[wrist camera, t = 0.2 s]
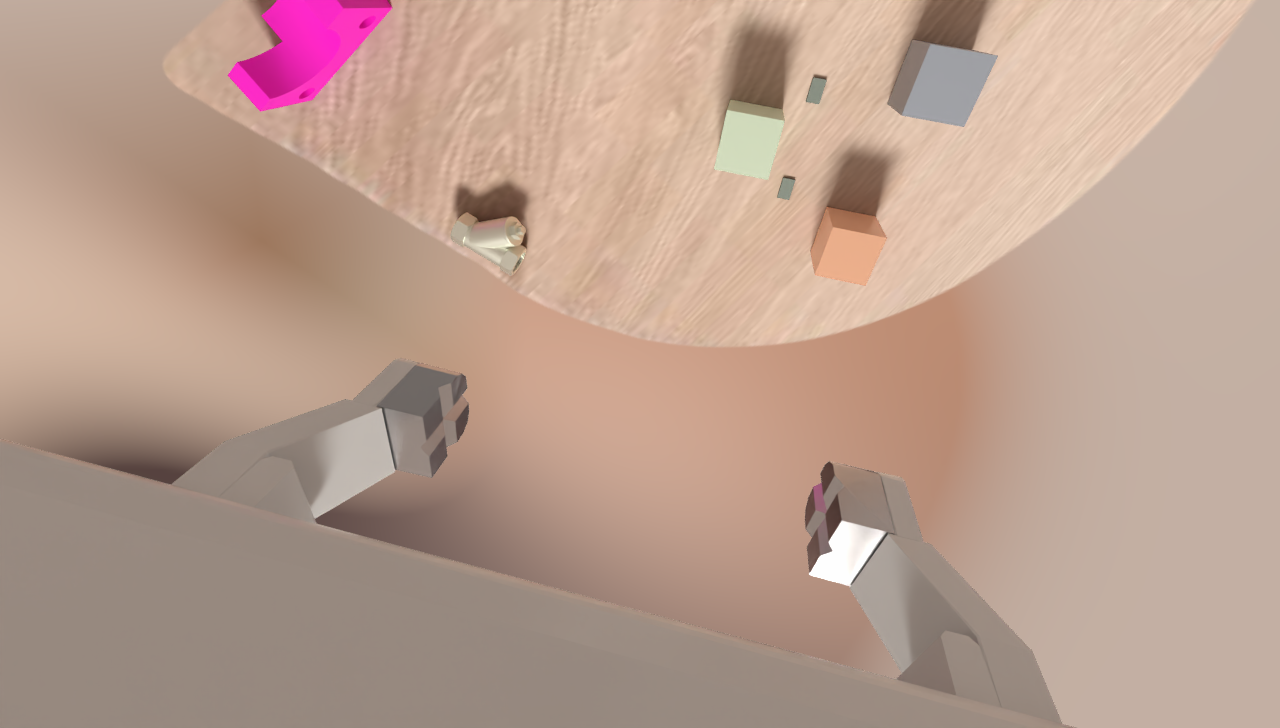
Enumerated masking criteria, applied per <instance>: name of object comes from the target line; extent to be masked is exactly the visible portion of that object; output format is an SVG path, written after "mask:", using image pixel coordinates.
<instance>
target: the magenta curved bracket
mask: <svg viewBox="0 0 1280 728" xmlns="http://www.w3.org/2000/svg"><path fill="white" fill-rule="evenodd" d="M391 9H392V6H391V5H390V4H389V2H388V1H387V0H277V1H276V2H275V4H274V5H273V6H272V7H271V8H270V9H269V10H268V11H266V12H265V13H264V14H263V15H262V17H263V19H264V20H265V21H266V22H267V23H268V25H269V26H270V27H271V28H272V29H273V31H274V32H275V33H276V34H277V35H278V36H279V38H280V39H281V40H282V42H281V43H279V44H278V45H276V46H275V47H273V48H272V49H270V50H268V51H266V52H264V53H262V54H260V55H258V56H256V57H253V58H250V59H247V60H244V61H240V62H237V63H236V64H235V66H234V67H233V69H232V70H231V71H230V73H229V74H228V76H229V77H230V79H231V80H232V81H233V82H234V83H235V84H236V85H237V86H238V87H239V89H240V90H241V91H242V92H243V93H244V94H245V95H246V96H247V97H248V98H249V100H250V101H251V102H252V103H253V104H254V105H255V106H256V107H257V108H258V110H259V111H265V110H269V109H274V108H279V107H283V106H288V105H292V104H297V103H301V102H306V101H310V100H313V98H314V97H315V96H316V95H317V94H318V93H319V92H320V90H321V89H322V88H323V87H324V86H325V85H326V83H327V82H328V81H329V80H330V79H331V78H332V77H333V75H334V74H335V73H336V72H337V71H338V70H339V69H340V67H341V66H342V65H343V64H344V63H345V62H346V61H347V59H348V58H349V57H350V56H351V55H352V54H353V52H354V51H355V50H356V49H357V48H358V47H359V46H360V44H361V43H362V42H363V41H364V40H365V39H366V38H367V36H368V35H369V34H370V33H371V32H372V31H373V29H374V28H375V27H376V26H377V25H378V24H379V23H380V21H381V20H382V19H383V18H384V17H385V16H386V15H387V13H388V12H389V11H390V10H391Z"/></svg>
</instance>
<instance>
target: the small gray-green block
mask: <svg viewBox="0 0 1280 728" xmlns="http://www.w3.org/2000/svg"><path fill="white" fill-rule="evenodd" d="M826 81H827V80H825V79H820V78H814V77H813V80H812V83H811V86H810V90H809V93H808V96H807V100H806V102H810V103H815V104H819V103H820V100H821V96H822V93H823V90H824V87H825V84H826Z"/></svg>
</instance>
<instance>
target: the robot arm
mask: <svg viewBox="0 0 1280 728" xmlns="http://www.w3.org/2000/svg"><path fill="white" fill-rule="evenodd" d="M466 389H467V383H466V376H464V375H463V374H462V373H458V372H454V371H450V370H446V369H443V368H439V367H435V366H431V365H428V364H424V363H418V362H414V361H410V360H407V359H403V358H399V359H396V360H394V361H393V362H392V363H391V364H390V365H389V366H387V368H385V369H384V370H383V371H382V373H380V374H379V375H378V376H377V377H376V378H375V379H374V380H373V381H372V382H371V383H370V384H369V385H368V386H367V387H366V388H365V389H363V390H362V391H361V392H360V393H359V395H357V396H356V397H355V398H354V399H353V400H352V401H351V400H346V399H345V400H342V401H339V402H336V403H333V404H331V405H327V406H325V407H322V408H319V409H316V410H313V411H310V412H307V413H304V414H302V415H299V416H296V417H293V418H290V419H287V420H284V421H281V422H279V423H276V424H273V425H270V426H267V427H264V428H261V429H259V430H256V431H253V432H250V433H247V434H244V435H241V436H238V437H236V438H233V439H230V440H227V441H224V442H223V443H222V444H221V445H219V446H218V447H217V448H216V449H214V450H213V451H212V452H211V453H210V454H208V455H207V456H206V457H205V458H203V459H202V460H201V461H200V462H198V463H197V464H196V465H195V466H193V467H192V468H191V469H190V470H188V471H187V472H186V473H185V474H184V475H182V476H181V477H180V478H179V479H178V480H176V481H175V482H174V483H173V484H171V485H170V484H166V483H163V482H159V481H155V480H151V479H147V478H144V477H140V476H136V475H133V474H129V473H125V472H121V471H118V470H113V469H110V468H106V467H103V466H99V465H95V464H91V463H88V462H84V461H80V460H77V459H73V458H69V457H65V456H61V455H58V454H54V453H50V452H47V451H43V450H39V449H35V448H32V447H28V446H25V445H21V444H18V443H15V442H11V441H7V440H4V439H1V438H0V728H1075V727H1072V726H1068V725H1064V724H1062V722H1061V720H1060V717H1059V714H1058V712H1057V710H1056V707H1055V705H1054V702H1053V700H1052V698H1051V695H1050V693H1049V690H1048V688H1047V685H1046V683H1045V681H1044V678H1043V676H1042V673H1041V671H1040V668H1039V666H1038V664H1037V661H1036V659H1035V656H1034V654H1033V652H1032V650H1031V649H1030V648H1029V647H1028V646H1027V645H1026V644H1025V643H1024V642H1023V641H1022V640H1021V639H1020V638H1019V637H1018V636H1017V635H1016V634H1015V632H1014V631H1013V630H1012V629H1011V628H1010V627H1009V626H1008V625H1007V624H1006V623H1005V622H1004V621H1003V620H1002V619H1001V618H1000V617H999V616H998V615H997V613H996V612H995V611H994V610H993V609H992V608H991V607H990V606H989V605H988V604H987V603H986V602H985V601H984V600H983V599H982V598H981V596H979V594H978V593H977V592H976V591H975V590H974V589H973V588H972V587H971V586H970V585H969V584H968V583H967V582H966V581H965V580H964V578H963V577H962V576H961V575H960V574H959V573H958V572H957V571H956V570H955V569H954V568H953V567H952V566H951V565H950V564H949V563H948V562H947V561H946V559H945V558H944V557H943V556H942V555H941V554H940V553H939V552H938V551H937V550H936V549H935V548H934V547H933V546H932V545H931V544H929V543H925V542H923V539H922V535H921V532H920V529H919V526H918V523H917V519H916V516H915V513H914V509H913V506H912V503H911V500H910V496H909V493H908V490H907V487H906V484H905V481H904V480H903V479H902V478H901V477H898V476H893V475H889V474H884V473H880V472H874V471H869V470H865V469H861V468H856V467H852V466H848V465H844V464H839V463H835V462H831V461H829V462H828V463H826V464H825V466H824V467H823V470H822V471H821V483H820V484H818V485H816V486H814V487H813V489H812V491H811V493H810V495H809V497H808V501H807V505H806V510H805V527H806V530H807V532H808V533H809V534H810V536H811V537H812V539H811V541H810V542H809V544H808V546H807V552H808V564H809V574H810V575H813V576H816V577H820V578H823V579H827V580H830V581H834V582H837V583H841V584H844V585H848V586H851V587H850V589H851V591H852V593H853V594H854V596H855V598H856V599H857V600H858V602H859V604H860V606H861V607H862V609H863V611H864V612H865V614H866V615H867V617H868V619H869V620H870V622H871V624H872V625H873V627H874V628H875V630H876V632H877V633H878V635H879V637H880V638H881V640H882V641H883V643H884V645H885V646H886V648H887V649H888V651H889V653H890V654H891V656H892V658H893V659H894V661H895V663H896V664H897V666H898V667H899V669H900V671H901V672H902V674H901V675H900V676H899V677H898V678H897V679H893V678H889V677H886V676H882V675H878V674H874V673H871V672H867V671H863V670H860V669H856V668H852V667H848V666H845V665H841V664H837V663H833V662H830V661H826V660H822V659H819V658H814V657H811V656H807V655H804V654H800V653H796V652H792V651H789V650H785V649H781V648H777V647H774V646H770V645H767V644H762V643H759V642H755V641H752V640H748V639H744V638H740V637H737V636H733V635H729V634H725V633H721V632H718V631H714V630H710V629H706V628H703V627H699V626H695V625H691V624H687V623H684V622H680V621H676V620H672V619H669V618H665V617H661V616H658V615H654V614H650V613H646V612H643V611H639V610H635V609H631V608H628V607H624V606H620V605H617V604H613V603H609V602H606V601H601V600H598V599H594V598H591V597H587V596H583V595H580V594H576V593H572V592H568V591H565V590H561V589H557V588H553V587H550V586H546V585H542V584H539V583H535V582H531V581H528V580H524V579H520V578H516V577H513V576H509V575H505V574H502V573H498V572H494V571H490V570H487V569H483V568H479V567H476V566H472V565H467V564H464V563H461V562H457V561H453V560H449V559H446V558H442V557H438V556H435V555H431V554H427V553H423V552H419V551H416V550H412V549H408V548H404V547H400V546H397V545H393V544H390V543H386V542H382V541H378V540H375V539H371V538H367V537H363V536H360V535H356V534H352V533H349V532H345V531H341V530H337V529H334V528H330V527H326V526H323V525H319V524H317V523H316V521H315V518H317V517H319V516H320V515H322V514H324V513H325V512H327V511H329V510H331V509H332V508H334V507H336V506H337V505H339V504H341V503H342V502H344V501H346V500H348V499H349V498H351V497H353V496H354V495H356V494H358V493H360V492H361V491H363V490H365V489H366V488H368V487H370V486H372V485H373V484H375V483H377V482H378V481H380V480H382V479H383V478H385V477H387V476H389V475H390V474H392V473H394V472H395V470H400V471H404V472H408V473H413V474H417V475H422V476H426V477H430V478H432V477H433V476H434V474H435V473H436V472H437V470H438V469H439V467H440V466H441V464H442V463H443V461H444V460H445V459H446V457H447V449H446V447H448V446H450V445H452V444H454V443H456V442H458V440H459V439H460V437H461V435H462V434H463V432H464V430H465V427H466V424H467V421H468V415H469V404H468V402H467V401H466V399H465V398H464V397H463V395H462V394H463V393H464V392H465V390H466Z"/></svg>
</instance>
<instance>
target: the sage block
mask: <svg viewBox="0 0 1280 728" xmlns="http://www.w3.org/2000/svg"><path fill="white" fill-rule="evenodd" d="M784 122H785V120H784V114H783V109H778V108H773V107H768V106H762V105H757V104H752V103H746V102H741V101H736V100H730V102H729V105H728V108H727V112H726V117H725V121H724V126H723V131H722V135H721V140H720V144H719V149H718V154H717V158H716V163H715V167H714V169H715V170H720V171H725V172H730V173H735V174H740V175H745V176H750V177H756V178H761V179H766V180H768V178H769V175H770V171H771V168H772V164H773V161H774V157H775V154H776V150H777V147H778V143H779V140H780V136H781V133H782V129H783V125H784Z"/></svg>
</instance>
